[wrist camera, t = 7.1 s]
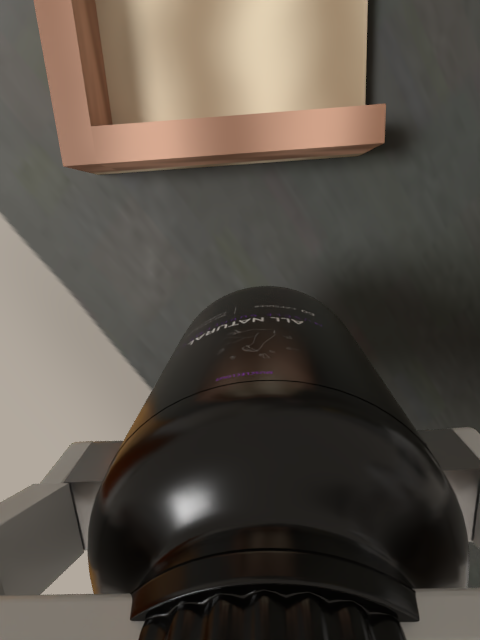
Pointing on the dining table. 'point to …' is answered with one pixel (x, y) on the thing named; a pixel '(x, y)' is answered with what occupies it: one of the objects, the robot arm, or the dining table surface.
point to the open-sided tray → (207, 82)
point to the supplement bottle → (273, 488)
